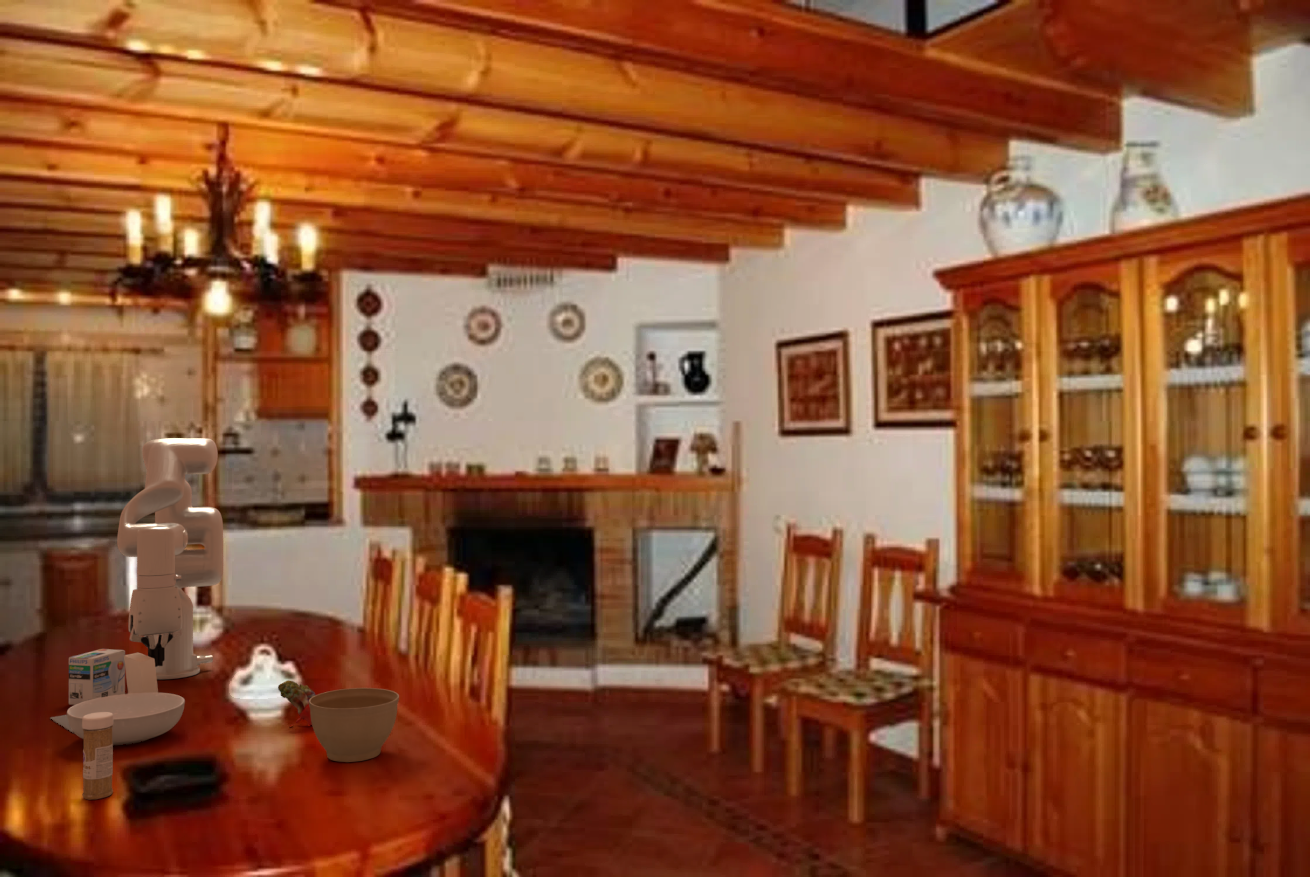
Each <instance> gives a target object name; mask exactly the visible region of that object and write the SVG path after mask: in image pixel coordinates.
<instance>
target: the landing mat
mask: <svg viewBox="0 0 1310 877" xmlns="http://www.w3.org/2000/svg"><path fill="white" fill-rule="evenodd" d="M51 719H52V720H53V721H52V720H51ZM49 720H51V721H52V722H54V723H56V724H57V723H58V724H57V725H59V726H60V725H61V727H62V726H63V727H64V729H65V730H66V731H68V730H69V731H68V732H70V733H71V732H72V733H71V734H75V733H74V732H73V730H72V729H71V727H70V725H69V722H68V717H67V714H63V715H56V716H51V717H49ZM63 727H62V728H63Z"/></svg>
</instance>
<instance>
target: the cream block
mask: <svg viewBox="0 0 1310 877" xmlns="http://www.w3.org/2000/svg"><path fill="white" fill-rule="evenodd" d="M124 661H125V679H126V685H127V694H130V693H150V692H152V693H159V689H158V687H159V686H158V679H157V677H156V669H155V660H154V658H152V657H149V656H148V655H146V654H143V653H141V652H138V651H137V652H134V653H129V654H125V656H124Z"/></svg>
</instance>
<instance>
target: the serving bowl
mask: <svg viewBox="0 0 1310 877" xmlns="http://www.w3.org/2000/svg"><path fill="white" fill-rule="evenodd" d="M185 704H186V700H185V698H184V697H182V696H180V695H178V694H174V693H170V692H169V693H168V692H158V693H152V692H150V693H130V694H128V693H125V694H120V695H113V696H107V697H101V698H96V699H92V700H88V701H84V702H81V703H78V704H76V705H71V706H70V707H69V708H68V709H67V711H66V715H67V717H68V722H69V725H70V727H71V729H72V730H73V732H74V733H73V734H74V735H76V736H77V737H79V738H80V739H82V740H84V731H83V728H82V718H83V717H84V716H85V715H87V714H91V713H97V712H110V713H112V714H113V725H112V726H113V727H112V743H113V746H124V745H123V744H126V745H133V744H137V743H141V741H142V742H145V741H147V740H149V739H153V738H156V737H159V736H161V735H163V734H165V733H167V732H169V731H170V730H171V729H173V728H174V727H175V726H176V724H178V722H179V721H180V720H181V717H182V715H183V712H184V709H185ZM132 743H133V744H132Z"/></svg>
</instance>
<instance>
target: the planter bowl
mask: <svg viewBox="0 0 1310 877" xmlns="http://www.w3.org/2000/svg"><path fill="white" fill-rule="evenodd" d="M399 701H400V694H399V693H397V692H395V691H394V690H390V689H384V688H377V687H375V688H374V687H352V688H343V689H342V688H341V689H335V690H330V691H326V692H321V693H318V694H316V695H315V696H313V697H312V698H310V700H309V707H310V714H311V722H312V726H311V727H312V728H313V732H314V734H315V736H316V738H317V740H318V742H319V743H320V745H321V746H322V748H323V749H324V750H325V751H326V757H327V759H329V760H330V761H334V762H339V763H340V762H343V763H344V762H345V763H353V762H362V761H367V760H370V759H371V760H372V759H373V758H376V757H378V756H379V755H380V754H381V752H382V751H381V750H382V746H383V745H384V744H385V742H386V741H387V740H388V738H389V736H390V735H391V732H392V731H393V728H394V726H395V723H396V719H397V716H398V715H397V713H398V704H399Z"/></svg>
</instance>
